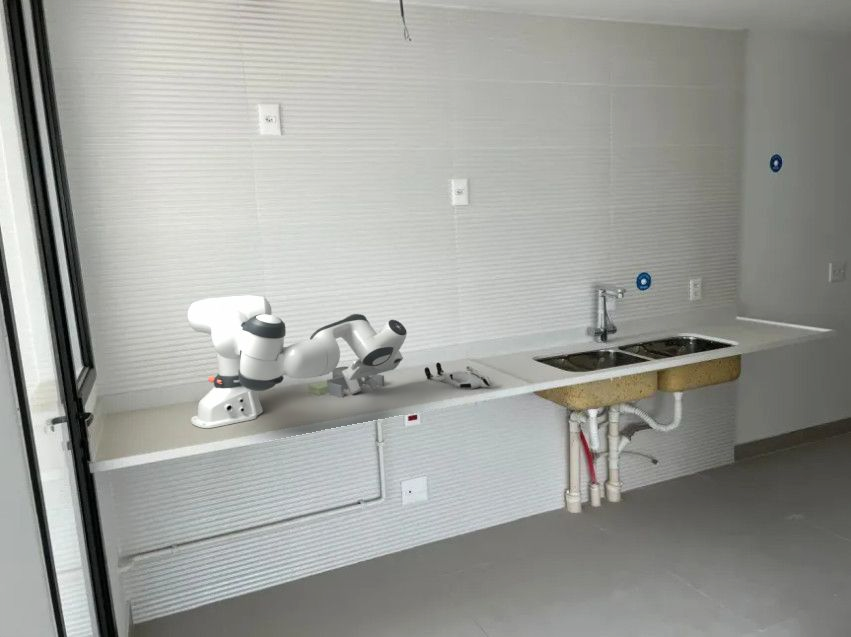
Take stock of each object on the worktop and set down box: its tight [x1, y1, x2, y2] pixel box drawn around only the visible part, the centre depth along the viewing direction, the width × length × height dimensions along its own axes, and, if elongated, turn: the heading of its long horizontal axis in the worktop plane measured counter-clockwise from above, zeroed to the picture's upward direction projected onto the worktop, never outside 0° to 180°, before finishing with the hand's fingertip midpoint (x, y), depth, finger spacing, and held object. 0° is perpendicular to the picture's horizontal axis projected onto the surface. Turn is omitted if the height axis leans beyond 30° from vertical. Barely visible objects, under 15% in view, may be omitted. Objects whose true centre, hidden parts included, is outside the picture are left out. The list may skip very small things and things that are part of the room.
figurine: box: [424, 362, 492, 390], centre depth 228 cm, size 13×6×30 cm
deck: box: [308, 366, 385, 398], centre depth 230 cm, size 26×16×6 cm, turn 131°
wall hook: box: [342, 369, 378, 395], centre depth 224 cm, size 8×10×10 cm
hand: (365, 379), depth 223 cm, fingers closed, pressing on wall hook
